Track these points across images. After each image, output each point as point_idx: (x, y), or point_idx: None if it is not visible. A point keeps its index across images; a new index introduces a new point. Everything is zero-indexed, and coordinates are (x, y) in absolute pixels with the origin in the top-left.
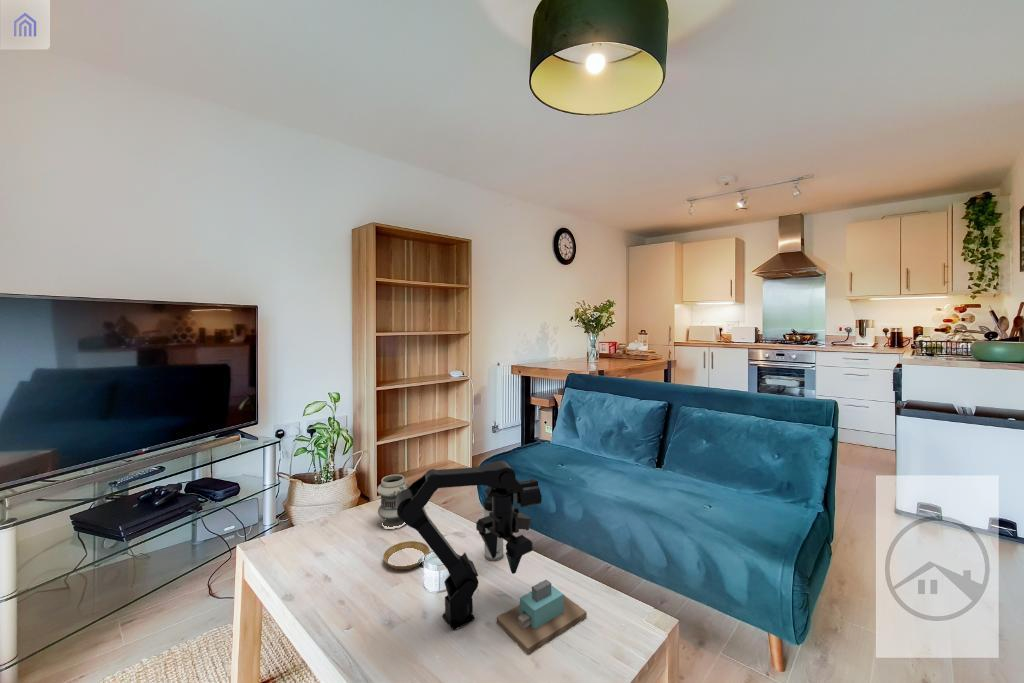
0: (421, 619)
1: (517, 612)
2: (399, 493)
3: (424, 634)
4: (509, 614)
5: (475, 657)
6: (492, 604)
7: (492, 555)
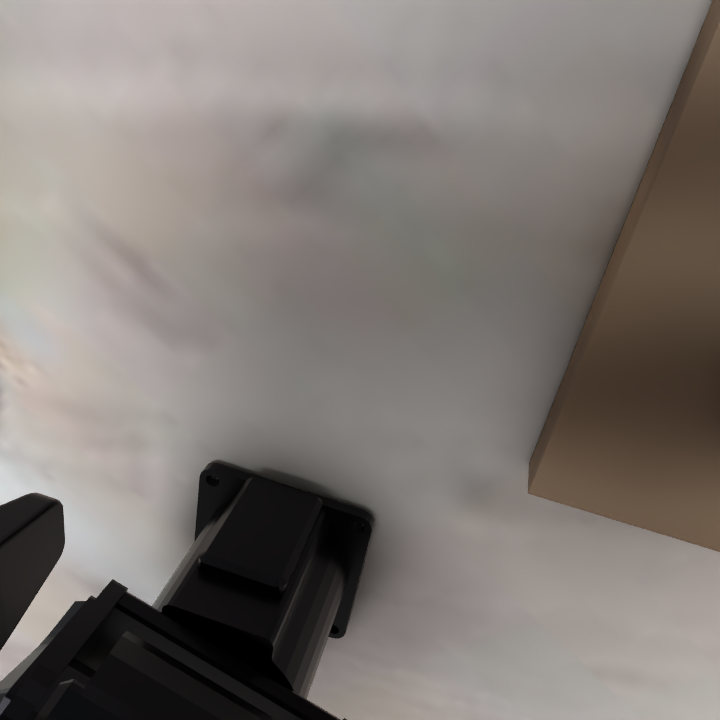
0: None
1: (670, 356)
2: None
3: None
4: (611, 415)
5: (605, 716)
6: (354, 321)
7: (28, 604)
